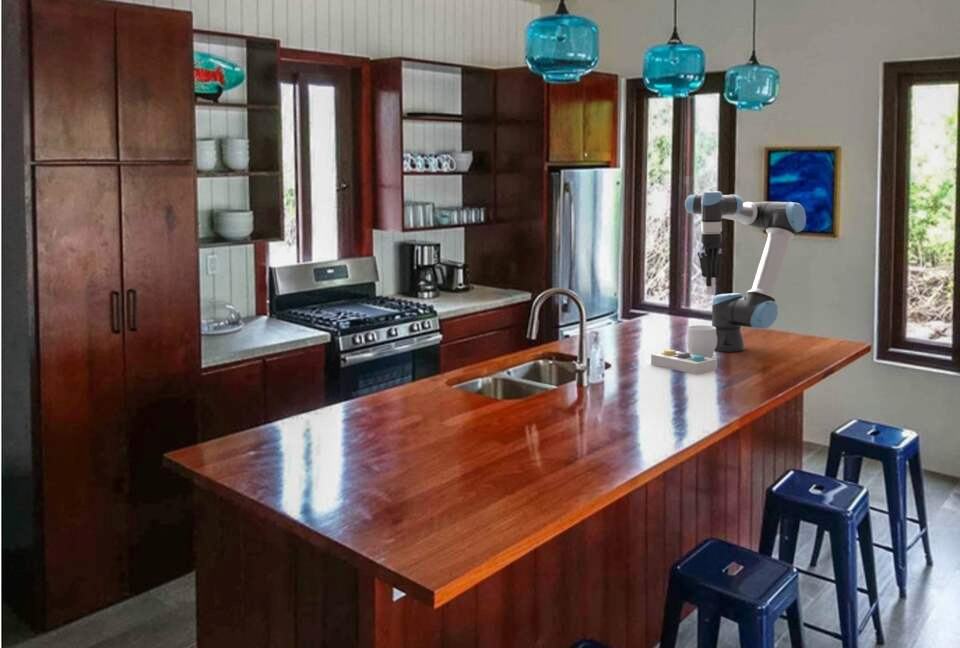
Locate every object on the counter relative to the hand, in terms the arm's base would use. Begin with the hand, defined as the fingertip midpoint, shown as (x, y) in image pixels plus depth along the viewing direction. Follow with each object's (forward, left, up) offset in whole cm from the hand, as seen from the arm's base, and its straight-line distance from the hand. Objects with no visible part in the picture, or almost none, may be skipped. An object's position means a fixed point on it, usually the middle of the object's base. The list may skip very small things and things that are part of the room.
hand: (710, 294), depth 340 cm
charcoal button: (+12, -3, -26) cm, 29 cm away
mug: (-4, -7, -27) cm, 29 cm away
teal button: (+12, +4, -26) cm, 29 cm away
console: (+12, -3, -27) cm, 30 cm away
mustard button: (+12, -10, -26) cm, 30 cm away
